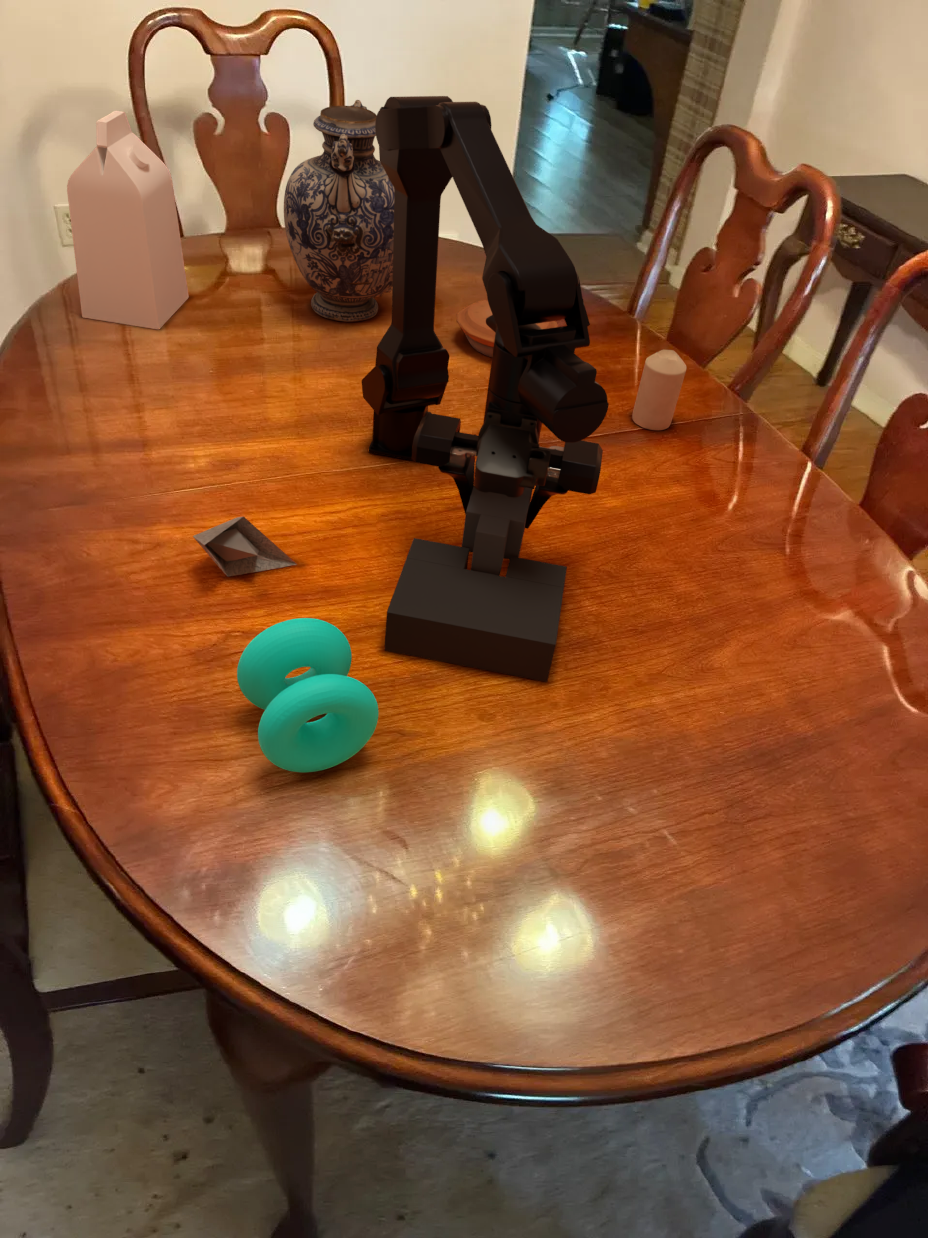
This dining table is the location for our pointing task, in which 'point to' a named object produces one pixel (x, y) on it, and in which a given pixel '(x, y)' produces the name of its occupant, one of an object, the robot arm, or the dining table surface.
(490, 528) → the tongue pad
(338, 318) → the decorative vase
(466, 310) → the pie
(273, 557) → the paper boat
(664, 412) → the candle
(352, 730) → the donuts
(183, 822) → the dining table surface
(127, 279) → the milk
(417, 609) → the notch pad
